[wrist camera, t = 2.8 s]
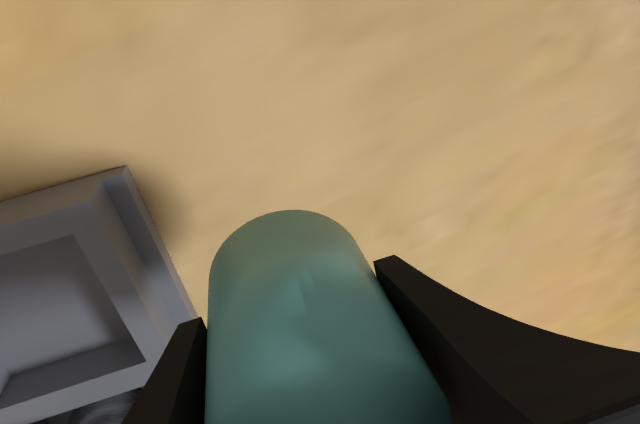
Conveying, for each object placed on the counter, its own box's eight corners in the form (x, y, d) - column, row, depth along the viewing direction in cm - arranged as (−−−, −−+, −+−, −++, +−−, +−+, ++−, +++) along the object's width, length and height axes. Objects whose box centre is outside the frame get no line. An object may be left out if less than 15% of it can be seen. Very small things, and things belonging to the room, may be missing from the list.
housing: (246, 419, 25) (254, 530, 20) (71, 479, 24) (31, 611, 19) (126, 165, 18) (88, 234, 13) (-130, 239, 17) (-286, 346, 12)
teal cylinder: (374, 314, 15) (460, 485, 10) (237, 359, 15) (249, 564, 9) (346, 189, 13) (438, 321, 7) (184, 239, 12) (159, 416, 7)
